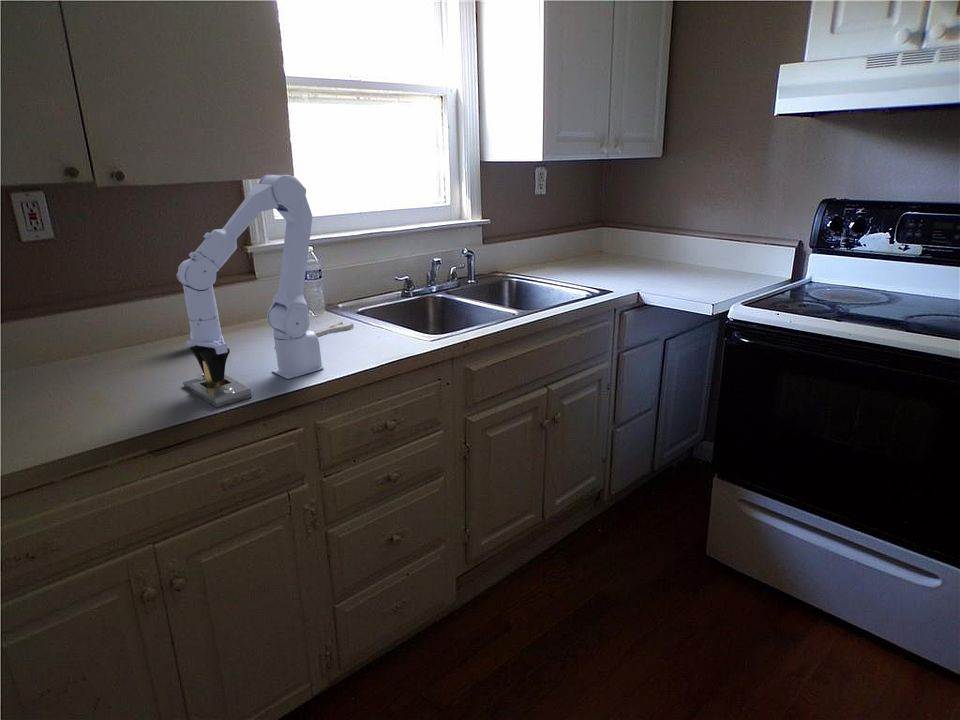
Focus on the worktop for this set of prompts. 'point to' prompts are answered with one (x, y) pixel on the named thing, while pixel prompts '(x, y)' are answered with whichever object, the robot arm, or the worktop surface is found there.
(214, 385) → the brass pin
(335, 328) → the adjustable wrench
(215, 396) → the studded plate with cutout
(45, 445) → the worktop surface
